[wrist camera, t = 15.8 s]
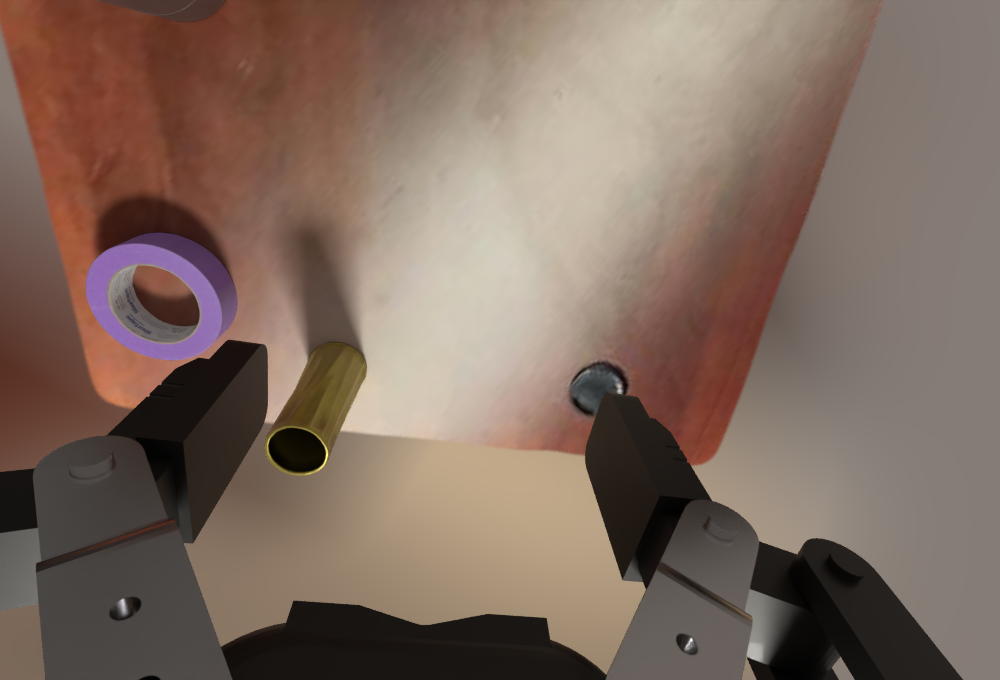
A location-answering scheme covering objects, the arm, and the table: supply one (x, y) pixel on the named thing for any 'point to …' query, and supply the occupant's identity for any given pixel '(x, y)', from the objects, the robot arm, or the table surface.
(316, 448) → the vase
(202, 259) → the masking tape
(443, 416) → the table surface
